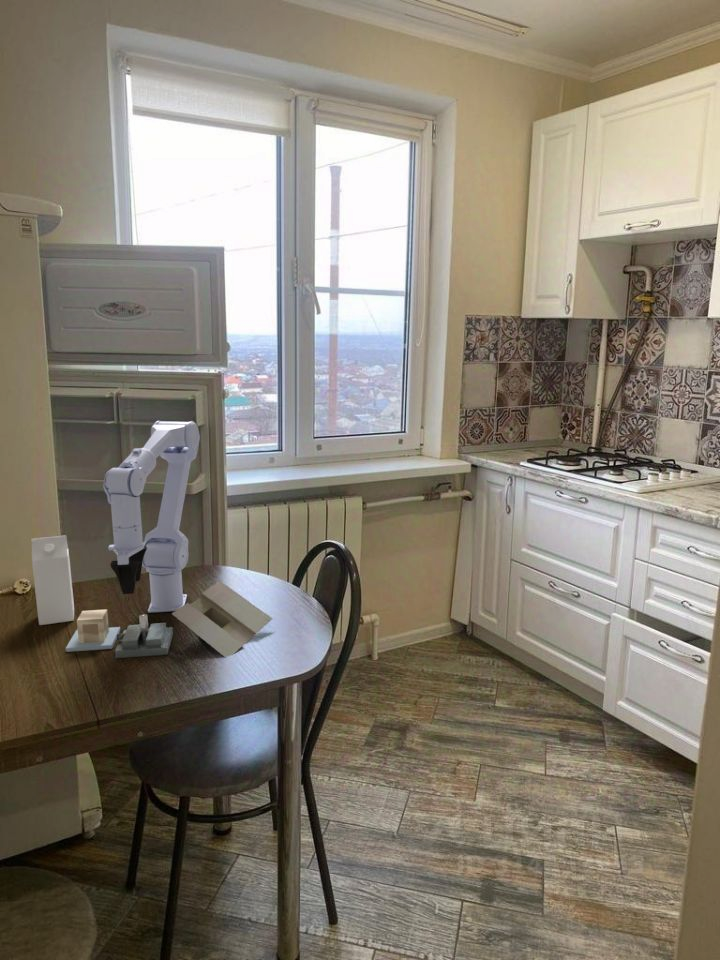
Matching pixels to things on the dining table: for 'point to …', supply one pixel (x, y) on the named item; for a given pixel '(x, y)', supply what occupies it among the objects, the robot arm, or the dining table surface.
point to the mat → (106, 644)
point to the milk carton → (52, 580)
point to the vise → (144, 639)
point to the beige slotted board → (223, 618)
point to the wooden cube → (92, 626)
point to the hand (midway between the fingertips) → (131, 586)
